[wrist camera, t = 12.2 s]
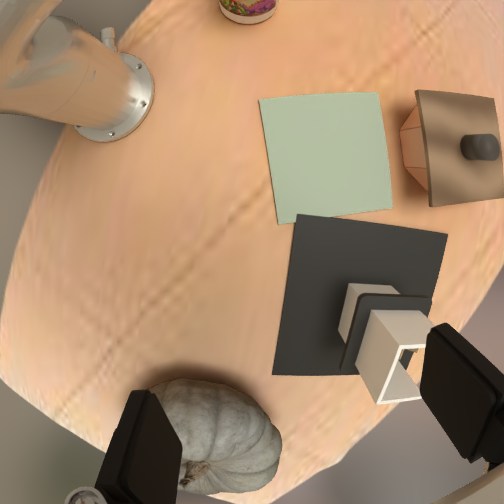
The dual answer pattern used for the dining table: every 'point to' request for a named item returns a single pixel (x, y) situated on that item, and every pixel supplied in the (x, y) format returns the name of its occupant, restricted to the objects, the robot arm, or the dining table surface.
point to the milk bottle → (248, 10)
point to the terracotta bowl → (414, 148)
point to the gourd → (220, 437)
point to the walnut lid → (460, 147)
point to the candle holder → (358, 302)
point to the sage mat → (326, 154)
